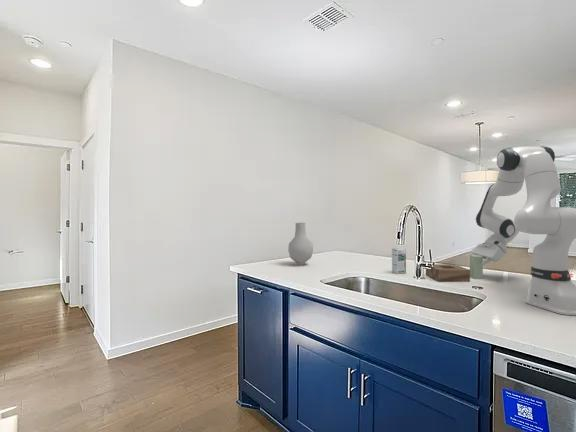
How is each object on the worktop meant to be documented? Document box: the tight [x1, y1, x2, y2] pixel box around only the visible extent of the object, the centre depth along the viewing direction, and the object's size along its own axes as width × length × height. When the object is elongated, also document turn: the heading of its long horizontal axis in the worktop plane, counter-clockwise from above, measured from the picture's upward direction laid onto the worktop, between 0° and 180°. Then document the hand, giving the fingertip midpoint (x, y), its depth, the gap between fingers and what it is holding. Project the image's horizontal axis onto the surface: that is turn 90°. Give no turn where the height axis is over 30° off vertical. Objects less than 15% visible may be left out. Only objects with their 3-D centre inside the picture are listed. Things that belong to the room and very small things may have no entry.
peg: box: [469, 254, 484, 280], centre depth 179 cm, size 4×4×12 cm
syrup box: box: [391, 247, 407, 275], centre depth 193 cm, size 6×6×14 cm
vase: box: [288, 222, 314, 266], centre depth 220 cm, size 17×16×28 cm
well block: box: [425, 263, 471, 283], centre depth 178 cm, size 16×16×6 cm
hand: (476, 263), depth 179 cm, fingers open, 8 cm apart
